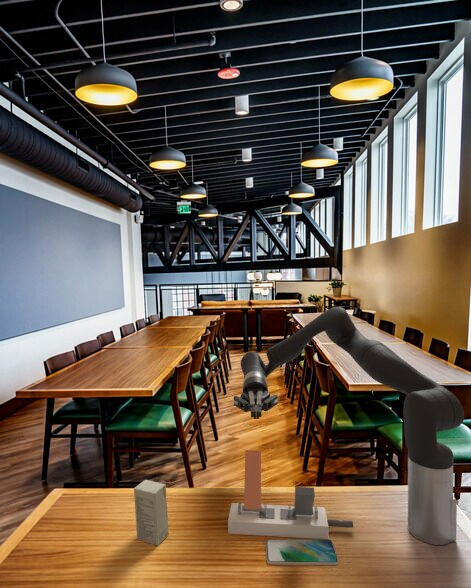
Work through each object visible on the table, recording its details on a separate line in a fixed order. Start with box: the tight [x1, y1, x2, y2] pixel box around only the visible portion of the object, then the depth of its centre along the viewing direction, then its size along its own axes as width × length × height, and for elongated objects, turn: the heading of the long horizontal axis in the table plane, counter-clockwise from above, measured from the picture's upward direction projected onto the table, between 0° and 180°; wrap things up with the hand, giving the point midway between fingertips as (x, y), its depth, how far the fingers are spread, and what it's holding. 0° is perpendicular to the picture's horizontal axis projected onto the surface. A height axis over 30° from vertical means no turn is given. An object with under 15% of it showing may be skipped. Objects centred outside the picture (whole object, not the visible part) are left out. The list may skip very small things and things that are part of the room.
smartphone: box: [265, 538, 340, 566], centre depth 83 cm, size 7×1×15 cm
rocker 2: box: [293, 486, 316, 516], centre depth 86 cm, size 5×2×14 cm
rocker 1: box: [242, 449, 263, 512], centre depth 94 cm, size 5×2×14 cm, turn 84°
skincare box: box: [133, 479, 169, 546], centre depth 88 cm, size 6×4×12 cm
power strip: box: [227, 502, 354, 540], centre depth 91 cm, size 29×7×5 cm, turn 84°
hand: (256, 415), depth 98 cm, fingers closed
